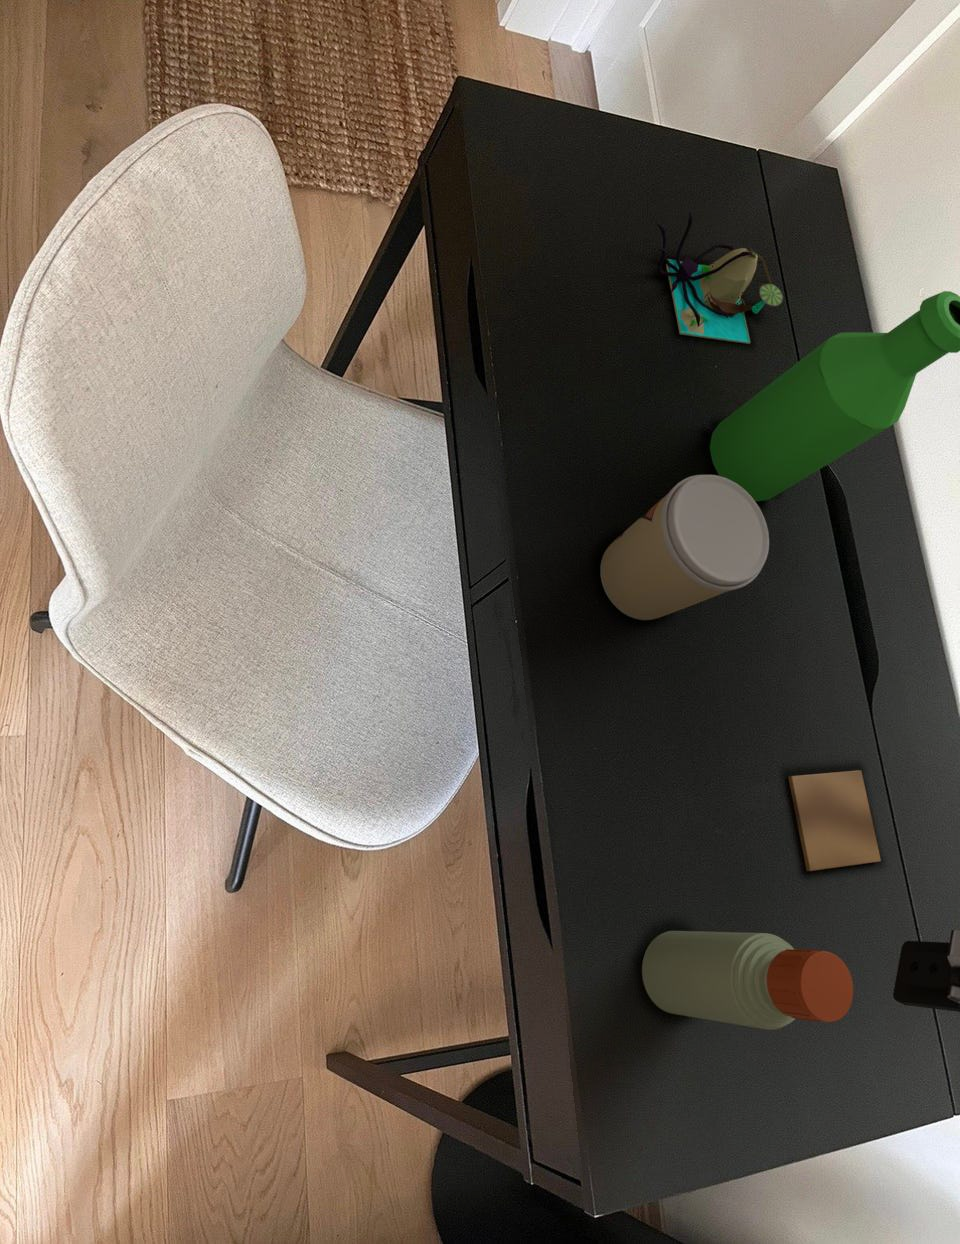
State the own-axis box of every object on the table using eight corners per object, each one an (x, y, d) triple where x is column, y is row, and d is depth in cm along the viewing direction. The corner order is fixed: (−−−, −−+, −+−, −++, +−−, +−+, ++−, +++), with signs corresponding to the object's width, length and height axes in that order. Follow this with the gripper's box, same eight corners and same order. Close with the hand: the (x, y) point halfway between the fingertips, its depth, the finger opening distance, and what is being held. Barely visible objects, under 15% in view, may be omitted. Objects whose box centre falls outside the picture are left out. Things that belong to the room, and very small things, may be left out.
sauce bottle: (719, 993, 72) (873, 1012, 58) (659, 1027, 69) (807, 1056, 55) (690, 918, 73) (835, 919, 59) (630, 949, 70) (767, 958, 56)
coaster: (877, 861, 82) (881, 861, 81) (806, 871, 78) (810, 871, 78) (857, 770, 84) (861, 770, 83) (787, 776, 80) (791, 776, 80)
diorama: (769, 347, 95) (806, 316, 90) (646, 330, 89) (678, 296, 84) (748, 252, 98) (783, 218, 93) (627, 230, 92) (658, 191, 87)
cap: (826, 1000, 60) (863, 1004, 57) (781, 1028, 58) (817, 1034, 55) (801, 938, 61) (836, 940, 58) (756, 964, 59) (790, 967, 56)
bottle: (690, 431, 87) (894, 268, 65) (754, 413, 91) (967, 253, 69) (730, 515, 86) (951, 377, 64) (793, 493, 90) (1022, 356, 68)
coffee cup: (666, 523, 83) (751, 466, 73) (696, 622, 81) (788, 578, 71) (578, 533, 79) (654, 475, 69) (608, 637, 77) (691, 593, 67)
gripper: (1490, 1019, 36) (1059, 984, 53) (1197, 835, 33) (831, 858, 49) (1508, 1229, 33) (1044, 1123, 50) (1187, 1052, 30) (799, 1000, 46)
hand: (941, 992), depth 49 cm, fingers open, 4 cm apart
